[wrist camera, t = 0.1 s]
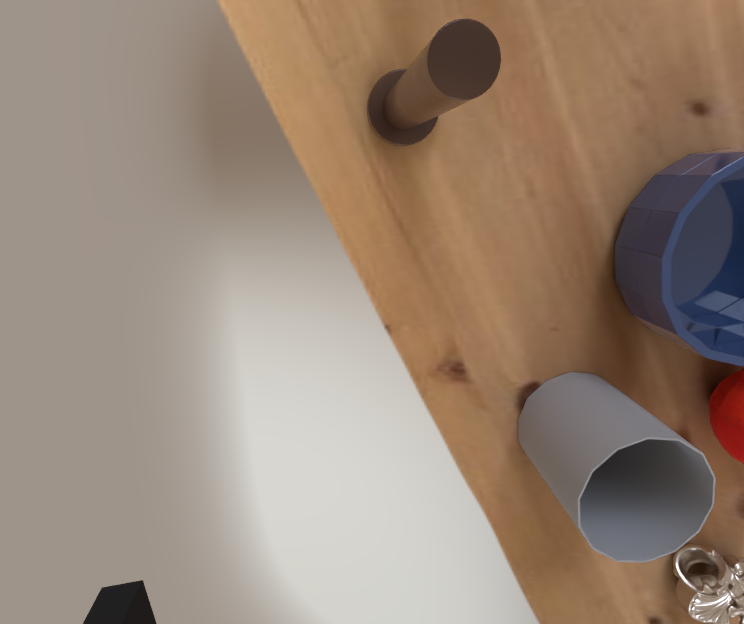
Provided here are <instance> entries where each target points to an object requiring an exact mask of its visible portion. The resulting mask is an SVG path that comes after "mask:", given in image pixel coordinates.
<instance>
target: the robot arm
mask: <svg viewBox="0 0 744 624" xmlns="http://www.w3.org/2000/svg"><path fill="white" fill-rule="evenodd" d="M83 624H156V621H155V618H154V615H153V611H152V608H151V605H150V602H149V599H148V596H147V593H146V589H145V586H144V583H143V581H136V582H131V583H125V584H120V585H114V586H109V587H104V588H102V589H101V591H100V593H99V594H98V596H97V598H96V600H95V602H94V604H93V606H92V608H91V610H90V612H89V613H88V615H87V617H86V619H85V621H84V623H83Z"/></svg>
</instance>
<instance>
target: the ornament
mask: <svg viewBox="0 0 744 624" xmlns="http://www.w3.org/2000/svg"><path fill="white" fill-rule="evenodd" d="M695 563H706V564H709V565H711V566H713V567H714V568H715V569H714V570H713V569H712V571H711V573H701V574H687V571H688V569H689V567H690V566H691V565H692V564H695ZM673 566H674V569H673V573H674V574H675V575H676V576H677V577H678V578H679V581H678V583H677V586H676V598H677V600H678V602H679V603H680V605H681V606H682V607H683V608H684V610H685V611H686V612H687V613H688V614H689V615H690V616H691V617H692V618H694V619H695V620H697V621H700V622H704V623H706V624H730V622H729V616H730V617H732V618H734V617H736V616H739V624H744V557H737V556H734V555H724V556H723V557H721V556H720V555H719V554H718V553H717V552H716V551H715V550H714V549H712V548H710V547H708V546H700V545H697V544H686V545H684V546H682V547H681V548H679V549H678V550H677V551H676V552H675V554H674V557H673Z"/></svg>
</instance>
